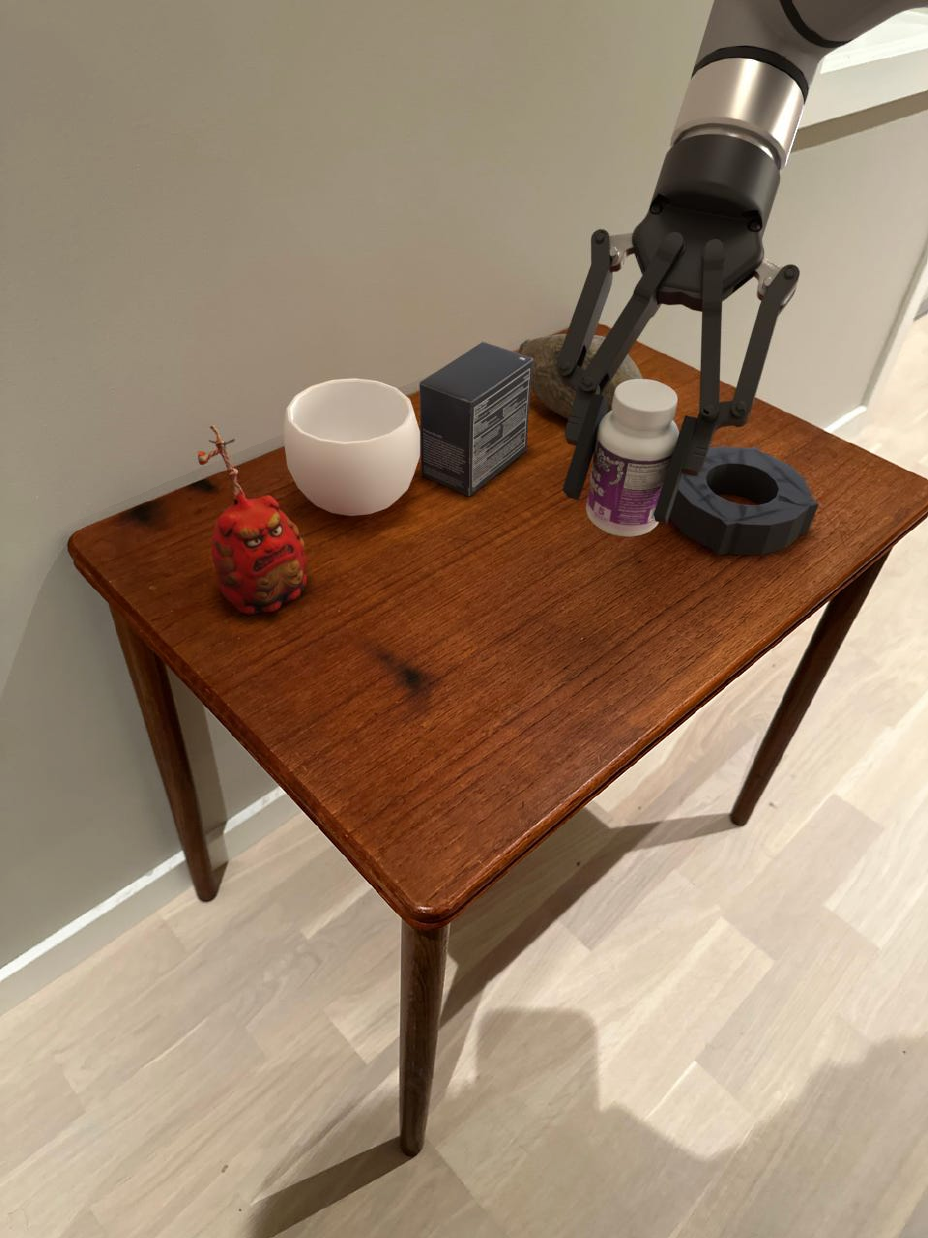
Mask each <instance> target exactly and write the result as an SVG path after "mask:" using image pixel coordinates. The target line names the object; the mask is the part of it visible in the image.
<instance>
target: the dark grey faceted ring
mask: <svg viewBox="0 0 928 1238" xmlns="http://www.w3.org/2000/svg"><path fill="white" fill-rule="evenodd" d="M718 494H733V495H738V496H741V497H745V498H748V499H749V500H752V501H753V502H755V503H757V504H755V505H753V504H741V503H737V502H733V501H729V500H727V499H725V498H723V497H721V496H719V495H718ZM819 504H820V503H819V502H818V501H817V500H815V499H814V498H813V493H812V491H811V489H810V486H809V485H808V482H807V480H806V478H805V477H804V476H803V475H802V474H801V473H799V472H798V471H797V470H796V469H795V468H794V467H793V466H792V465H791V464H789V463H787V462H785V461H783V460H780V459H779V458H777V457H774V456H772V455H770V454H769V453H766V452H762V451H761V450H760V449H759V448H758V447H757V446H751V447H746V448H745V447H742V446H720V445H719V446H710V447H709V450H708V454H707V457H706V460H705V463H704V466H703V469H702V471H701V472H700V473H699V475H698V476H697V477H695V476H692V475H688V474H684V473H683V475H682V478H681V481H680V484H679V487H678V490H677V493H676V497H675V500H674V503H673V506H672V509H671V512H670V515H669V519H670V521H671V522H672V523H673V524H674V525H675V526H676V527H677V529H678V530H679V531H680V532H681V533H682V534H683V535H685V536H686V537H688V538H690V539H691V540H693V541H695V542H697V543H698V544H700V545H702V546H703V547H706V548H708V549H711V550H712V552H713V553H714V554H715V555H716V556H723V555H726V554H729V555H736V556H764V555H768V554H771V553H775V552H780V551H783V550H785V549H786V548H787V547H789V546H790V545H791V544H792V543H794V542H795V541H796V540H797V539H798V538H799V536H803V535H807V534H808V533H809V531H810V529H811V526H812V523H813V521H814V518H815V515H816V514H817V513H816V512H817V510H818V508H819Z"/></svg>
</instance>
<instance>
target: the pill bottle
mask: <svg viewBox="0 0 928 1238" xmlns="http://www.w3.org/2000/svg"><path fill="white" fill-rule="evenodd" d="M678 401H679V400H678V395H677V392H675V390H674V389H673V388H671V387H670V386H668V385H667V384H665V383H662V382H661V381H658V380H653V379H646V378H643V379H633V380H628V381H625V382H623V383H621V384H619V385H618V386H617V387H616V389H615V392H614V397H613V402H612V411H610V412H609V413H608V414H606V415H605V416H604V417H603V419H602V420H601V422H600V424H599V427H598V431H597V437H596V443H595V450H594V454H593V457H592V462H591V463H592V464H591V470H590V476H589V485H588V491H587V498H586V505H585V511H586V515H587V518H588V519H589V521H591V523H592V524H593V525H594V526H595V527H597V528H598V529H600V530H602V531H603V532H605V533H608V534H611V535H614V536H619V537H636V536H642V535H644V534H647V533H649V532H652V530H654V529H655V528H656V527H657V526H658V524H659V522H656V521H655V518H654V511H655V508H656V505H657V502H658V499H659V495H660V492H661V489H662V486H663V483H664V480H665V477H666V473H667V470H668V467H669V464H670V461H671V458H672V455H673V452H674V448H675V445H676V442H677V439H678V436H679V433H680V430H679V428H678V425H677V424H676V422H675V421H674V419H675V416H676V410H677V406H678Z"/></svg>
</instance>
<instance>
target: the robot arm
mask: <svg viewBox="0 0 928 1238" xmlns="http://www.w3.org/2000/svg"><path fill="white" fill-rule="evenodd" d="M916 9H928V0H713V3H712V6H711V9H710V13H709V16H708V19H707V23H706V25H705V29H704V33H703V36H702V38H701V43H700V46H699V49H698V52H697V56H696V60H695V61H694V66H693V70H692V73H691V77H690V79H689V82H688V85H687V86H686V87H687V88H686V90H685V93H684V97H683V99H682V103H681V106H680V109H679V112H678V115H677V118H676V121H675V125H674V127H673V130H672V134H671V137H670V142H669V147H670V148H669V149H668V151H667V152H666V154H665V157H664V160H663V163H662V166H661V169H660V172H659V175H658V179H657V182H656V185H655V188H654V191H653V193H652V194H653V195H652V198H651V200H650V204H649V207H648V210H647V212H646V214H645V216H644V217H643V219H641V221H640V222H639V223H638V224H637V225H636V226H635V227H634V229H633V231H632V232H628V233H621V234H620V233H619V234H613V235H610V233H609V231H607V230H606V229H604V228H603V229H602V228H599V229H596V230H595V231H594V232H593V233H592V234H591V236H590V266H589V268H588V271H587V275H586V278H585V280H584V284H583V286H582V289H581V291H580V295H579V297H578V301H577V304H576V306H575V309H574V312H573V315H572V318H571V320H570V323H569V327H568V328H567V332H566V334H567V335H566V337H565V340H564V343H563V346H562V349H561V352H560V355H559V357H558V360H557V363H556V370H557V373H558V375H559V377H560V379H561V382H562V383H563V384H564V385H565V386H567V387H570V388H571V389H573V390H574V391H575V392H576V397H575V400H574V403H573V406H572V410H571V413H570V416H569V419H567V422H566V426H565V429H564V437H565V441H566V443H567V444H568V445H571V446H574V451H573V454H572V457H571V461H570V464H569V466H568V470H567V473H566V476H565V479H564V482H563V486H562V492H563V493H564V494H565V496H566V497H567V499H572V500H576V501H580V498H581V495H582V492H583V489H584V486H585V482H586V480H587V475H588V473H589V470H590V466H591V463H592V461H593V456H594V450H595V443H596V437H597V431H598V427H599V424H600V422H601V420H602V419H603V417H604V416H605V415H606V413H607V410H608V407H607V404H606V401H605V398H604V396H602V393H603V392H604V390H605V389H606V387H607V386H608V384H609V383H610V381H611V379H612V378H613V376H614V375H615V373H616V372H617V370H618V368H619V367H620V365H621V364H622V362H623V361H624V359H625V357H626V356H627V354H628V355H629V353H630V351H631V349H632V348H633V346H634V345H635V344H636V342H637V341H638V338H639V337H640V336H641V334H642V332H643V331H644V329H645V328H646V326H647V324H648V323H649V322H650V320H651V319H652V318H654V317H655V315H656V314H657V312H658V311H659V309H660V307H661V306H662V305H665V306H679V305H681V306H683V307H685V308H687V309H689V310H691V311H694V312H695V311H696V312H700V313H701V334H700V335H701V336H700V341H701V342H700V367H699V368H700V369H699V402H698V404H699V405H698V413H697V414H698V415H697V417H695V416H691V415H687V414H685V415H684V418H683V421H682V423H681V427H680V430H679V436H678V439H677V442H676V445H675V448H674V452H673V455H672V458H671V461H670V464H669V467H668V470H667V473H666V477H665V480H664V483H663V486H662V489H661V492H660V495H659V499H658V502H657V505H656V508H655V511H654V518H655V521H656V522H659V523H660V524H663V525H668V521H669V519H670V517H669V515H670V512H671V509H672V506H673V503H674V500H675V497H676V493H677V490H678V487H679V484H680V481H681V478H682V475H683V473H684V474H688V475H692V476H695V477H697V476H698V475H699V473H700V472H701V471H702V469H703V466H704V463H705V460H706V457H707V454H708V450H709V448H711V444H712V441H713V437H714V435H715V433H716V432H717V431H718V430H719V429H722V428H724V427H725V428H726V427H736V428H741V427H744V426H746V425H747V424H748V422H749V419H750V416H751V413H752V409H753V406H754V403H755V398H756V395H757V392H758V389H759V384H760V381H761V379H762V374H763V370H764V367H765V364H766V360H767V357H768V354H769V350H770V346H771V343H772V339H773V336H774V333H775V330H776V329H775V328H776V325H777V322H778V318H779V316H780V315H781V313H782V312H783V311H784V309H785V308H786V306H787V305H788V304H789V302H790V301H791V299H792V298H793V297H794V295H795V293H796V290H797V287H798V283H799V279H800V275H801V273H800V272H801V271H800V268H799V267H798V266H797V265H795V264H789V263H788V264H786V265H784V266H781V265H779V264H777V263H776V262H774V261H772V260H770V259H769V258H766V257H765V247H764V244H763V237H764V235H765V231H766V228H767V226H768V221H769V220H770V219H769V218H770V215H771V212H772V209H773V206H774V203H775V200H776V197H777V193H778V190H779V187H780V185H781V173H783V171H784V169H785V168H786V165H787V163H788V160H789V156H790V153H791V149H792V147H793V144H794V140H795V138H796V134H797V131H798V127H799V124H800V122H801V118H802V115H803V112H804V109H805V106H806V102H807V100H808V96H809V92H810V89H811V87H812V84H813V80H814V78H815V76H816V73H817V70H818V66H819V64H820V63H821V62H822V60H823V59H824V58H825V57H826V56H828V55H830V54H831V53H832V52H835V51H836V50H838V49H839V48H841V47H844V46H846V45H847V44H849V43H851V42H852V41H855V40H856V39H858V38H859V37H861V36H863V35H864V34H866V33H868V32H869V31H871V30H873V29H874V28H876V27H878V26H879V25H881V24H883V23H884V22H887V21H888V20H889V19H891V18H893V17H895V16H897V15H899V14H902V13H904V12H906V11H911V10H916ZM631 255H634V257H635V259H636V262H637V265H638V268H639V270H640V273H641V277H640V279H639V280H638V282H637V283H636V285H635V286H634V289H633V291H632V295H631V296H630V299H629V300H628V302H627V303H626V305H625V306H624V308H623V309H622V311H621V313H620V314H619V315H618V317H617V319H616V320H615V322H614V324H613V325H612V326H611V328H610V330H609V332H608V333H607V335H606V336H605V337H606V338H605V339H604V341H603V343H602V344H601V346H600V347H599V349H598V351H597V352H596V354H595V355H594V357H593V358H592V360H591V362H590V363H589V365H588V366H587V368H586V369H585V370H584V369H582V368H583V366H584V363H585V360H586V357H587V354H588V351H589V348H590V346H591V343H592V340H593V337H594V335H596V331H597V328H598V326H599V323H600V320H601V317H602V314H603V312H604V308H605V306H606V303H607V300H608V297H609V294H610V291H611V289H612V284H613V279H614V273H617V272H619V271H620V270H621V269H622V268H623V267H624V264H625V261H626V259H627V258H628V257H629V256H631ZM753 278H755V279H756V281H757V282H758V283H757V287H756V298H757V299H758V300H759V301H760V303H759V306H758V310H757V313H756V317H755V319H754V324H753V327H752V331H751V334H750V337H749V341H748V344H747V348H746V351H745V355H744V359H743V362H742V366H741V370H740V374H739V377H738V379H737V384H736V387H735V390H734V394H733V398H732V400H727V401H726V400H725V401H720V394H721V393H720V392H721V359H722V358H721V355H722V354H721V352H722V327H723V326H722V324H723V323H722V322H723V302H724V301H726V300H727V299H728V298H730V296H732V295H733V294H734V293H736V292H737V291H738V290H740V289H741V288H742V287H743V286H745V284H747V283H748V282H749V281H751V280H752V279H753ZM659 523H658V524H659Z"/></svg>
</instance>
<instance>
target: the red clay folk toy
mask: <svg viewBox="0 0 928 1238" xmlns="http://www.w3.org/2000/svg"><path fill="white" fill-rule="evenodd" d="M209 429H210V430H212V432H213V433H214V434H215V436H216V438H215V440H212V439H209V440H208V442H209V443H212V444H215V447H216V449H215V450H211V451H208V452H205V451H203V450H199V451H197V460H198V461H197V462H198V464H199V465H200V466H204V465H206V464H208V463H209V461H210V459H212V458H213V457H216V456H218V455H221V457H222V459H223V461H224V463H225V466H226V468H227V470H228V477H229V479H230V481H231V483H232V494H233V500H232V503H231V504H230V505H229V506H228V507H227V508H226V509H225V510H224V511H223V512H222V513H221V514H220V516H219V517H218V518H217V520H216V521H215V524H214V527H213V534H212V541H211V555H212V556H211V557H212V562H213V565H214V569H215V572H216V576H217V581H218V586H219V588H220V591H221V593H222V595H223V597H224V598H225V599H227V601H228V602H229V603H231V604H232V606H233V607H234V608H235V609H236V610H237V611H239V612H240V613H242V614H245V615H249V616H251V615H255V614H257V613H273V612H276V611H277V610H279V609H280V608H281V607H282V605H283V604H286V602H294V601H295V600H296V599H298V598H299V597H300V596H301V593H302V592H303V591H304V590H305V589H306V588H307V585H308V577H307V574H306V571H307V564H308V560H307V555H306V554H307V553H305V550H306V544H305V541H304V539H303V538H302V536H301V535H300V531H299V529H298V526H297V525H296V524H295V523H294V522H293V521H291V520H290V518H289V517H288V515H286V513H285V512H283V510H281V509H280V505H279V502H278V501H277V500H276V499H275V498H273V497H272V496H271V495H268V494H267V495H262V496H260V497H258V498H257V497H256V498H249V499H247V498H246V495H245V493H244V490H243V489H242V488H241V486H240V484H239V482H238V481H237V476H238V473H239V470H237V468H234V467H233V465H232V463H231V460H230V455H229V452H228V449H227V446H226V445H229V444H231V443H234V442H235V441H236V439H235V438H232V439H230V440H228V441H223V440H222V437H221V435H220V432H219V430H218V429H217V427H216V426H215V425H209Z"/></svg>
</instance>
